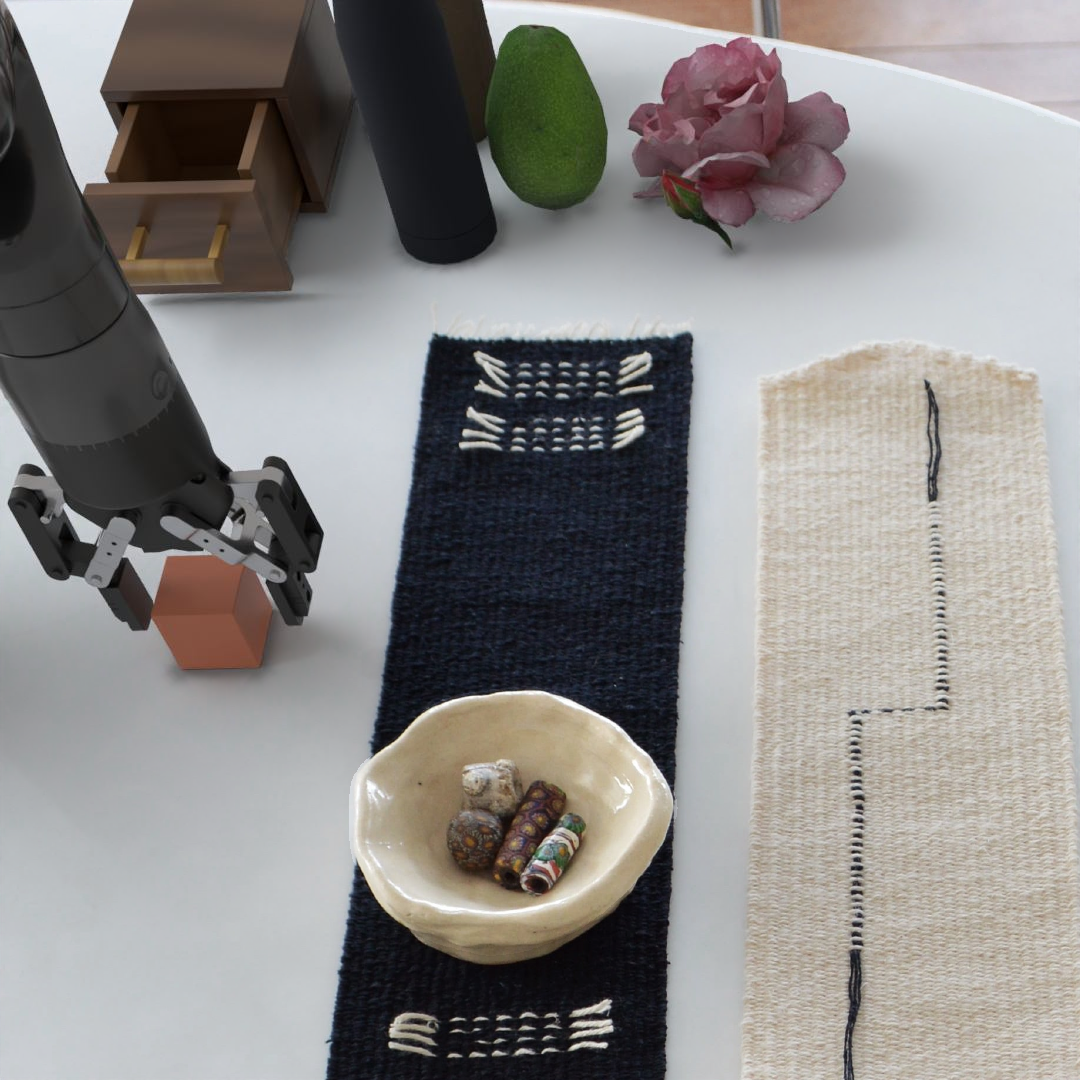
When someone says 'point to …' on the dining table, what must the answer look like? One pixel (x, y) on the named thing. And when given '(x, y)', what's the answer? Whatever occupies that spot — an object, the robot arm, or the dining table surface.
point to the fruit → (545, 119)
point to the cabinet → (242, 70)
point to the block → (211, 613)
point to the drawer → (201, 197)
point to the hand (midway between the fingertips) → (221, 617)
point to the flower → (738, 140)
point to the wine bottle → (417, 125)
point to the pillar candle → (471, 55)
